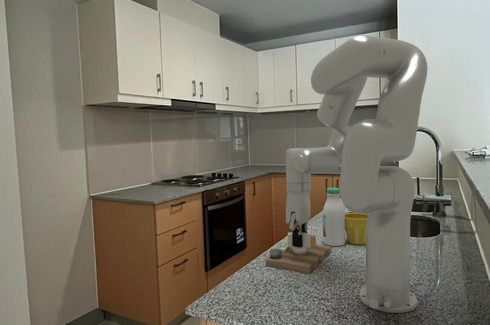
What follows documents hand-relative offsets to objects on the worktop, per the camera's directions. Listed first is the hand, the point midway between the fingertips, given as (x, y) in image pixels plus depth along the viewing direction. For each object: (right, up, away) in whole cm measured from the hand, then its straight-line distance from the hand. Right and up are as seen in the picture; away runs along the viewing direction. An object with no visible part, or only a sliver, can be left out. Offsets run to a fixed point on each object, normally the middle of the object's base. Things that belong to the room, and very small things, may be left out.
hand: (300, 244), depth 112 cm
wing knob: (0, -3, 0) cm, 3 cm away
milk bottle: (+15, -3, +15) cm, 21 cm away
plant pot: (+23, -3, +16) cm, 28 cm away
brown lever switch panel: (0, -5, 0) cm, 5 cm away
